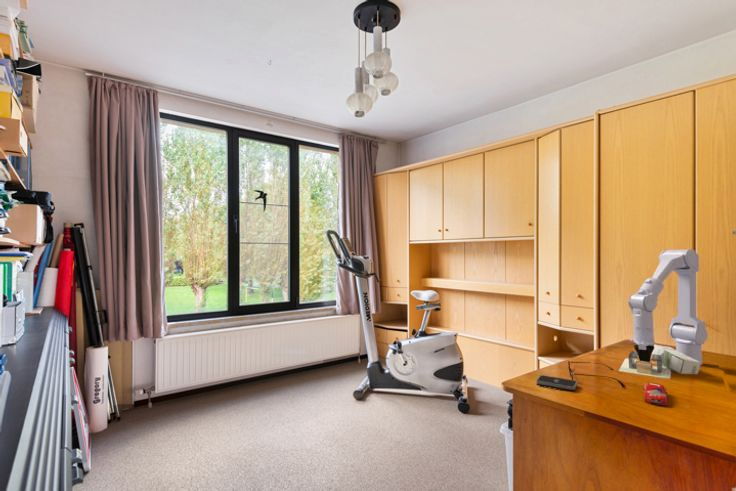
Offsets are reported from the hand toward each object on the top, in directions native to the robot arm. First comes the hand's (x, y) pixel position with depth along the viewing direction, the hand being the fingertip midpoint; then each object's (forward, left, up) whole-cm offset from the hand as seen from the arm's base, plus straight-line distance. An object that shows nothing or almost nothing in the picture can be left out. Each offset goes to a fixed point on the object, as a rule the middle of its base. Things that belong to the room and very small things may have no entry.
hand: (645, 366), depth 130 cm
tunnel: (-2, 0, -1) cm, 2 cm away
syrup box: (-2, +12, +1) cm, 13 cm away
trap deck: (-2, 0, -2) cm, 3 cm away
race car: (+27, +4, -3) cm, 27 cm away
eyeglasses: (+17, -13, -3) cm, 21 cm away
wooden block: (+4, 0, -1) cm, 4 cm away
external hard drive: (+33, -21, -3) cm, 39 cm away
